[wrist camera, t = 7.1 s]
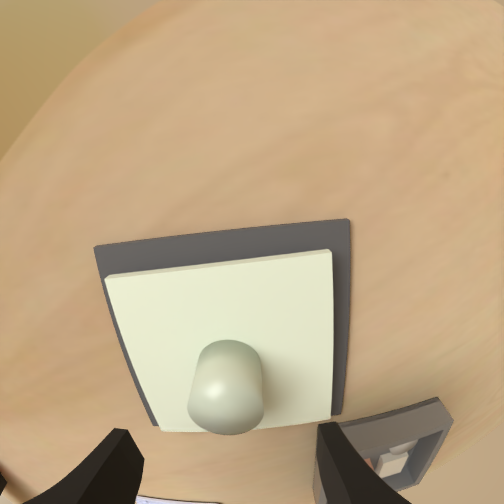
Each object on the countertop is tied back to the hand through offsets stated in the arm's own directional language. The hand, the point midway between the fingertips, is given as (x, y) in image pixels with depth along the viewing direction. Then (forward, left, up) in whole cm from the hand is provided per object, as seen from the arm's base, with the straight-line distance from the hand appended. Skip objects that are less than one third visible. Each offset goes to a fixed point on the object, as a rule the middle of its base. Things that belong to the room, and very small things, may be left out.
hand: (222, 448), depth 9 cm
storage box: (+10, -13, -7) cm, 18 cm away
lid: (0, 0, -7) cm, 7 cm away
